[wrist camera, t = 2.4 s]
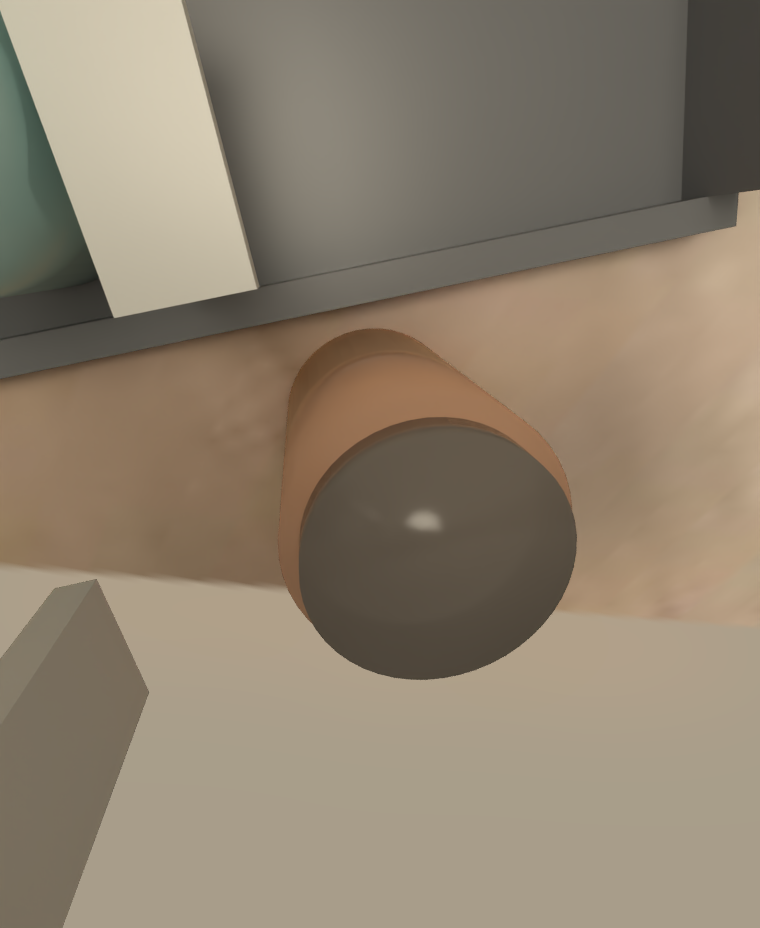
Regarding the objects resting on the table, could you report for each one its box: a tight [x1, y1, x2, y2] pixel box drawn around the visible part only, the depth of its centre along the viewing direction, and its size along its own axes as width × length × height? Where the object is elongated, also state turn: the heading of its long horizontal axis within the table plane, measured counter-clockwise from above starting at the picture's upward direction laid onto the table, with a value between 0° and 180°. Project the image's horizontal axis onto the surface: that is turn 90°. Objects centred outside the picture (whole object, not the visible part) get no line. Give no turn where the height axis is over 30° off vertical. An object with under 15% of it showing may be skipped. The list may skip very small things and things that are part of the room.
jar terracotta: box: [278, 329, 577, 680], centre depth 14 cm, size 6×6×10 cm
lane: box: [0, 0, 760, 379], centre depth 12 cm, size 24×10×7 cm, turn 101°
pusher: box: [0, 0, 259, 318], centre depth 11 cm, size 2×7×8 cm, turn 11°
